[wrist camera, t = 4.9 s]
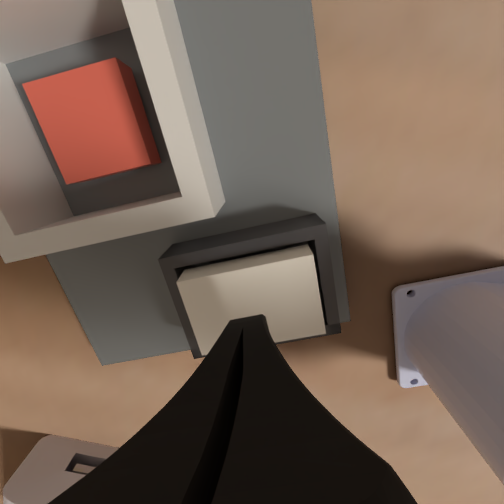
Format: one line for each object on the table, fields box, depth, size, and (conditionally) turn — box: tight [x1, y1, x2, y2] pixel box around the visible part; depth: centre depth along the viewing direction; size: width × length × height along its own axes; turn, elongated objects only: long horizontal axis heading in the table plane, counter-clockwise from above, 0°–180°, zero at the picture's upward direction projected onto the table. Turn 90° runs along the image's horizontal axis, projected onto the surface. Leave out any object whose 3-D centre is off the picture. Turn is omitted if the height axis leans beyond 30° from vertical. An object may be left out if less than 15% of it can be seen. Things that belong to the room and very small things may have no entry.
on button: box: [176, 244, 326, 355], centre depth 13 cm, size 6×4×1 cm, turn 103°
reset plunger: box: [22, 57, 161, 184], centre depth 12 cm, size 4×4×1 cm
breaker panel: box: [0, 0, 351, 366], centre depth 13 cm, size 16×18×5 cm
